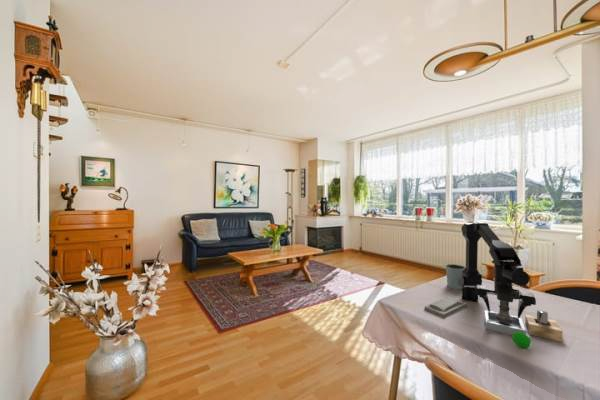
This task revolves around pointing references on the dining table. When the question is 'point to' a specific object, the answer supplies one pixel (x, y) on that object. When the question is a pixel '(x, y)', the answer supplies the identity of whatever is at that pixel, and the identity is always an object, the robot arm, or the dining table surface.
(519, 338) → the green ball
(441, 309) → the grey stepped plate
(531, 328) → the square wooden frame
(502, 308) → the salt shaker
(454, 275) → the grey-blue cylindrical pot
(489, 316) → the tray
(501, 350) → the dining table surface
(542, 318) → the pin
